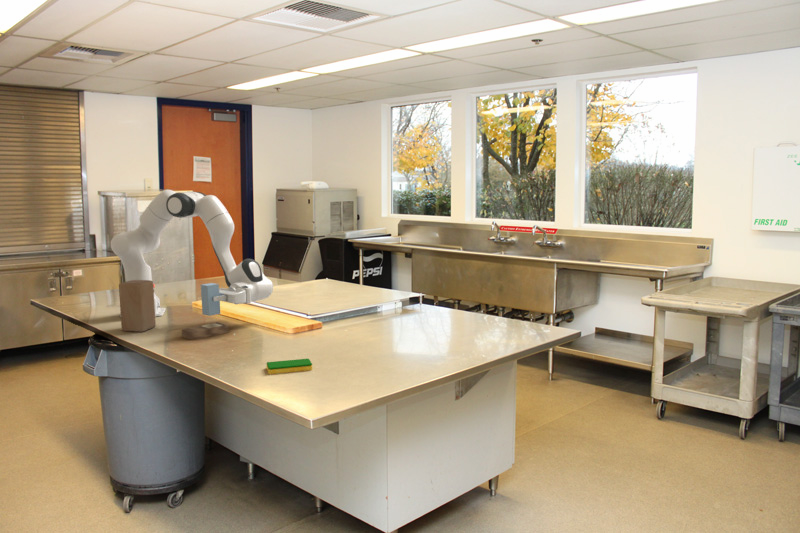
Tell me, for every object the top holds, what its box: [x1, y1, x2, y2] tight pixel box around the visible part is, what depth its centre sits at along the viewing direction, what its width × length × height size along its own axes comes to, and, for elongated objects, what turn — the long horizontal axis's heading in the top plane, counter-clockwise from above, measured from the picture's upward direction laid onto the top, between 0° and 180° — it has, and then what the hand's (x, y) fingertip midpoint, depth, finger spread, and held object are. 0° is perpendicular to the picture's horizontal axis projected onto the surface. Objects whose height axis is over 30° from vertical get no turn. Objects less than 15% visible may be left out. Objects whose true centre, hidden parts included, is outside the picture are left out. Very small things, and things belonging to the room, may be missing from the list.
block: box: [118, 280, 157, 333], centre depth 264 cm, size 10×10×20 cm
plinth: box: [180, 321, 229, 341], centre depth 255 cm, size 16×8×3 cm, turn 138°
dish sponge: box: [266, 358, 313, 375], centre depth 207 cm, size 7×14×2 cm, turn 107°
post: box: [200, 282, 221, 317], centre depth 255 cm, size 5×5×12 cm
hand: (208, 298), depth 254 cm, fingers closed on post, 5 cm apart
